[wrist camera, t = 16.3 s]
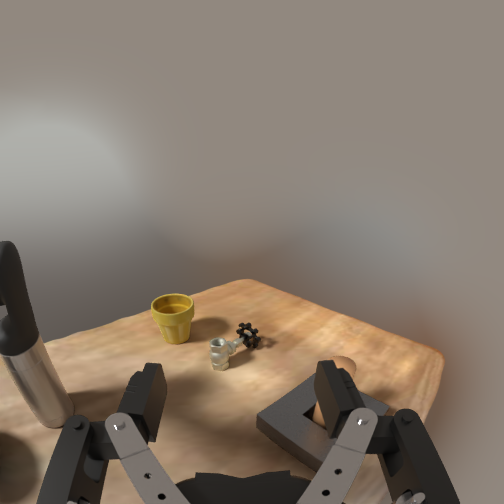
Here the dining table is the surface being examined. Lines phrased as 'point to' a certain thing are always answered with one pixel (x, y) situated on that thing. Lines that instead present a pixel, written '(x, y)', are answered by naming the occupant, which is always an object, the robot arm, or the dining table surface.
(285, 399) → the socket block
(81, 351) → the dining table surface
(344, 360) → the peg
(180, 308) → the plant pot
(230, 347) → the valve
